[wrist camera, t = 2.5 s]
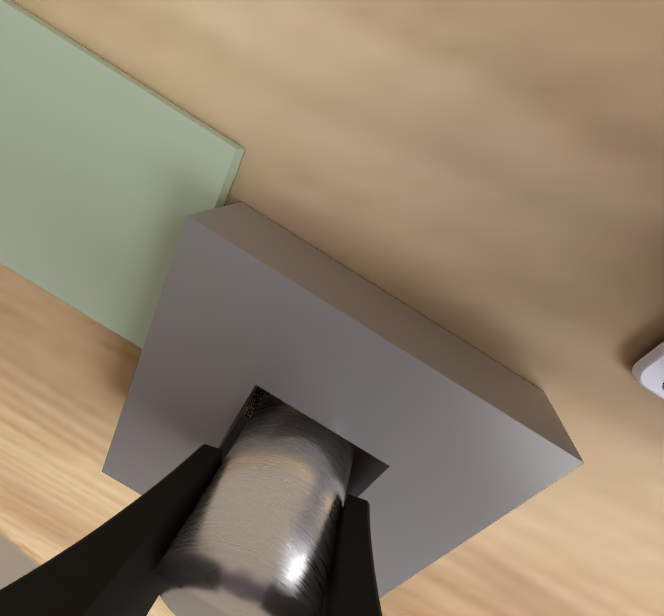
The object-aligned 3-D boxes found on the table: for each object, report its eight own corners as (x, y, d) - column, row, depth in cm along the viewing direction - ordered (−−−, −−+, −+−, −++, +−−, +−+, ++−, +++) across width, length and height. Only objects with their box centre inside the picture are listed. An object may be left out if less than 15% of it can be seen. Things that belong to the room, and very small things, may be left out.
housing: (543, 391, 11) (583, 462, 9) (359, 544, 17) (349, 617, 14) (241, 201, 11) (186, 215, 8) (152, 420, 16) (101, 471, 14)
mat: (245, 149, 10) (236, 148, 10) (167, 351, 14) (158, 358, 14) (-13, -14, 10) (-36, -24, 10) (-18, 239, 14) (-35, 242, 14)
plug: (380, 403, 13) (351, 624, 7) (330, 459, 15) (272, 675, 9) (292, 349, 13) (182, 526, 7) (253, 412, 15) (137, 598, 9)
